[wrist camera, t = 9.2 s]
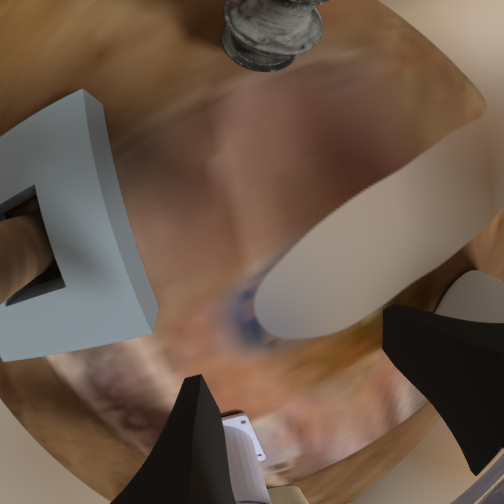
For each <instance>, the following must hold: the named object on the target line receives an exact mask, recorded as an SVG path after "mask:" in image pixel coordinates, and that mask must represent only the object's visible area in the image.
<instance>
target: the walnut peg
mask: <svg viewBox="0 0 504 504" xmlns="http://www.w3.org/2000/svg"><path fill="white" fill-rule="evenodd" d="M56 263H57V261H56V259H55V256H54V253H53V250H52V247H51V244H50V241H49V238H48V234H47V231H46V228H45V224H44V221H43V217H42V213H41V211H36V212H32V213H28V214H24V215H21V216H17V217H14V218H10V219H7V220H4V221H0V305H1V304H2V303H3V302H5V301H6V300H7V299H8V298H10V297H11V296H12V295H13V294H15V293H16V292H17V291H19V290H20V289H21V288H22V287H24V286H25V285H26V284H28V283H29V282H30V281H32V280H33V279H35V278H36V277H37V276H39V275H40V274H41V273H43V272H44V271H46V270H47V269H49V268H50V267H51V266H53V265H54V264H56Z"/></svg>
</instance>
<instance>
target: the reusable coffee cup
mask: <svg viewBox="0 0 504 504" xmlns="http://www.w3.org/2000/svg"><path fill="white" fill-rule="evenodd" d="M267 491H268V494H269V497H270V500H271V503H272V504H309V503H308V502H307V500H306V498H305V497H304V495H303V494H302V492H301V490H300V489H299V488H298V487H296V486H281V487H275V488H270V489H267Z"/></svg>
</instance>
